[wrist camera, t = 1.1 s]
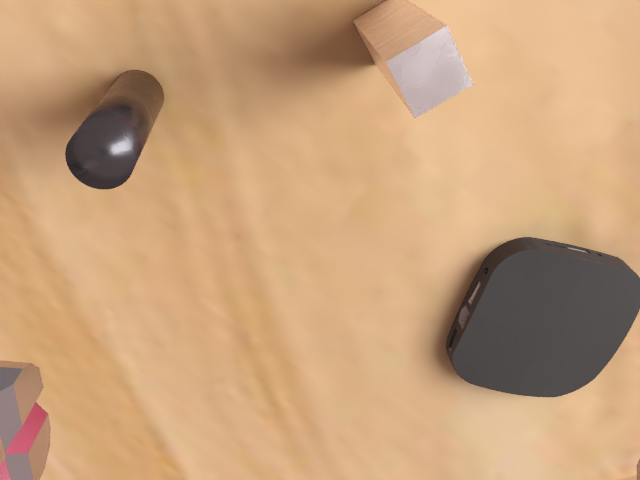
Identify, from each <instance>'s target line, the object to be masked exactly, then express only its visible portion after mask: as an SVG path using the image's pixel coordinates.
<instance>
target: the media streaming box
mask: <svg viewBox="0 0 640 480" xmlns="http://www.w3.org/2000/svg"><path fill="white" fill-rule="evenodd" d="M639 309H640V278H639V276H638V275H637V274H636V273H635V272H634V271H633V270H632V269H631V268H630V267H629V266H628V265H627V264H626V263H625V262H624V261H622V260H621V259H619V258H618V257H614V256H611V255H608V254H604V253H601V252H597V251H593V250H589V249H585V248H581V247H577V246H573V245H568V244H564V243H559V242H554V241H548V240H543V239H537V238H531V237H526V238H519V239H515V240H512V241H509V242H507V243H504V244H503V245H501V246H499V247H498V248H496V249H495V250H494V251H493V252H492V253H490V254H489V256H488V257H487V258H486V259H485V260H484V262H483V264H482V266H481V268H480V270H479V271H478V273H477V275H476V277H475V279H474V281H473V283H472V285H471V287H470V289H469V291H468V293H467V295H466V297H465V299H464V301H463V303H462V305H461V307H460V310H459V312H458V314H457V316H456V319H455V321H454V323H453V326H452V328H451V331H450V333H449V335H448V338H447V343H446V347H447V352H448V355H449V357H450V360H451V362H452V364H453V367H454V369H455V371H456V372H457V374H458V375H459V376H460V377H461V378H463V379H464V380H465V381H467V382H469V383H471V384H474V385H477V386H481V387H484V388H488V389H492V390H496V391H501V392H505V393H511V394H517V395H524V396H535V397H557V396H562V395H565V394H568V393H571V392H573V391H576V390H578V389H580V388H581V387H583V386H585V385H586V384H588V383H589V382H591V381H592V380H593V379H594V378H595V377H596V376H597V375H598V374H599V373H600V372H601V371H602V370H603V368H604V367H605V366H606V365H607V363H608V362H609V361H610V359H611V358H612V357H613V355H614V354H615V353H616V351H617V350H618V348H619V347H620V345H621V343H622V342H623V340H624V339H625V337H626V335H627V333H628V332H629V330H630V328H631V326H632V324H633V322H634V320H635V318H636V316H637V314H638V312H639Z"/></svg>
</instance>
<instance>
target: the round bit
mask: <svg viewBox="0 0 640 480" xmlns="http://www.w3.org/2000/svg"><path fill="white" fill-rule="evenodd" d="M163 101H164V94H163V90H162V87H161V85H160V83H159V82H158V81H157V80H156V78H154V77H153V76H152V75H150V74H149V73H147V72H144V71H140V70H131V71H127V72H125V73H123V74H122V75H120V76H119V77H118V78H117V80H116V81H115V82H114V84H113V85H112V86H111V87H110V89H109V90H108V91H107V93H106V94H105V95H104V96H103V98H102V99H101V100H100V102H99V103H98V104H97V105H96V107H95V108H94V109H93V111H92V112H91V113H90V114H89V116H88V117H87V118H86V120H85V121H84V122H83V124H82V125H81V126H80V127H79V129H78V130H77V131H76V133H75V134H74V135H73V136H72V138H71V139H70V141H69V142H68V145H67V148H66V162H67V165H68V167H69V169H70V171H71V172H72V174H73V175H74V176H75V177H76V178H77V179H78V180H79V181H81V182H82V183H84V184H85V185H88V186H90V187H93V188H97V189H112V188H115V187H118V186H120V185H122V184H123V183H124V182H126V181H127V179H128V178H129V177H130V175H131V173H132V171H133V169H134V167H135V165H136V162H137V160H138V158H139V156H140V154H141V151H142V149H143V147H144V145H145V143H146V140H147V138H148V136H149V134H150V132H151V129H152V127H153V125H154V123H155V120H156V118H157V116H158V114H159V112H160V109H161V107H162V105H163Z"/></svg>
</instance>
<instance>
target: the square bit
mask: <svg viewBox="0 0 640 480" xmlns="http://www.w3.org/2000/svg"><path fill="white" fill-rule="evenodd" d="M353 22H354V24H355V26H356V28H357V30H358V32H359V34H360V36H361V38H362V39H363V41H364V43H365V45H366V47H367V49H368V51H369V53H370V55H371V57H372V59H373V60H374V62H375V64H376V66H377V67H378V68H379V70H380V71H381V73H382V74H383V75H384V77H385V78H386V79H387V81H388V82H389V84H390V85H391V86H392V88H393V89H394V90H395V92H396V93H397V94H398V96H399V97H400V99H401V100H402V101H403V103H404V104H405V105H406V107H407V108H408V109H409V111H410V112H411V114H412V115H413V116H414V118H416V117H418V116H420V115H421V114H423V113H425V112H427V111H428V110H430V109H432V108H433V107H435V106H437V105H439V104H440V103H442V102H444V101H446V100H447V99H449V98H451V97H453V96H454V95H456V94H458V93H460V92H461V91H463V90H465V89H467V88H468V87H470V86H472V85H473V82H472V80H471V78H470V76H469V73H468V71H467V69H466V67H465V65H464V62H463V60H462V58H461V56H460V53H459V51H458V49H457V47H456V45H455V42H454V40H453V38H452V36H451V33H450V31H449V29H448V27H447V25H445V24H444V23H442V22H441V21H439V20H438V19H436V18H435V17H433V16H432V15H430V14H429V13H427V12H426V11H424V10H422V9H421V8H419V7H418V6H416V5H415V4H413V3H412V2H410V1H409V0H386V1H384V2H382V3H381V4H379V5H378V6H376V7H374V8H373V9H371V10H369V11H368V12H366V13H365V14H363V15H361V16H360V17H358V18H357V19H355V20H353Z"/></svg>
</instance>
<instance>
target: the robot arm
mask: <svg viewBox="0 0 640 480" xmlns="http://www.w3.org/2000/svg"><path fill="white" fill-rule="evenodd" d="M42 389H43V383H42V379H41V375H40V370H39V367H37V366H35V365H34V364H32V363H23V362H11V361H0V480H40V478H41V475H42V473H43V471H44V468H45V464H46V460H47V456H48V452H49V448H50V423H49V416H48V413H47V412H46V411H45V410H44V409H42V408H41V407H40V406H39V405H38V404H37V403H36V400H37V399H38V397H39V395H40V393H41V391H42ZM637 480H640V459H639V462H638V464H637Z"/></svg>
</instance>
